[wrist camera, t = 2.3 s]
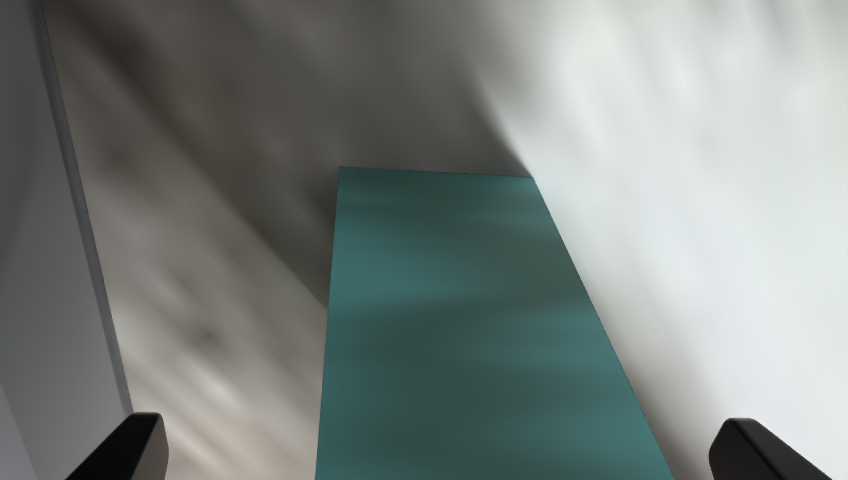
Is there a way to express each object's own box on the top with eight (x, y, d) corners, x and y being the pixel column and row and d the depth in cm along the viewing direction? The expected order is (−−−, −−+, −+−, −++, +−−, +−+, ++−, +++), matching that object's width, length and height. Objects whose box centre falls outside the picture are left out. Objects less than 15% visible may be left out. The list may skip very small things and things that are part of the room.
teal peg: (533, 177, 13) (706, 547, 6) (500, 323, 15) (604, 711, 9) (339, 166, 12) (309, 555, 6) (334, 318, 15) (308, 726, 8)
